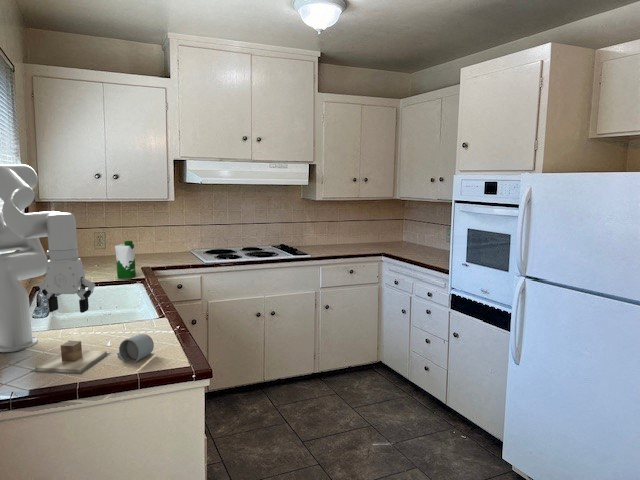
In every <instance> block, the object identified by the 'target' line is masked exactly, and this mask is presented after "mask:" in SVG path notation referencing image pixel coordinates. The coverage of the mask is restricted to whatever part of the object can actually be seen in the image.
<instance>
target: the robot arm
mask: <svg viewBox="0 0 640 480" xmlns="http://www.w3.org/2000/svg"><path fill="white" fill-rule="evenodd" d="M38 181H39V178H38V174H37V172H36V170H35V169H34V168H33V167H31V166H29V165H28V164H24V163H21V164H18V163H15V164H13V163H12V164H9V163H6V164H5V163H4V164H3V163H0V199H1V200H2V201H3V204H2V209H1V210H0V353H13V352H19V351H25V350H26V349H28V348H29V347H32V346H34V345H36V344H38V343H39V339H38V337H36V336H33V331H32V330H33V328H32V320H31V319H32V318H31V309H30V308H31V307H30V298H29V293H28V290H27V289H26V287H24V286H23V285H22V284H21V283H20V281H23V280H28V279H32V278H39V277H40V276H43V275H45V280H43V281H41V282H40V283H38V284H37V285H38V287H39V290H40V291H41V294H43V295H44V296H45V299H46V300H47V304H48V308H49V309H48V310H49V312H50V313H53V312H55V311H58V310H59V302H58V296H57V295H77V296H78V297H79V298H80V299H79V300H78V302H79V303H78V304H79V313H85V312H87V311H89V308H90V307H89V298H90V296H91V295H92V294H93V292H94V289H95V287H96V284H95V283H94V282H92V281H91V280H89V279H87V278H86V276H85V270H84V266H83V263H82V260H81V258H79V249H78V248H79V247H78V236H77V235H78V234H77V224H76V223H77V222H76V216H75V214H73V213H71V212H61V211H55V210H51V211H50V210H49V211H48V210H47V211H39V212H38V211H37V212H36V211H35V212H27V213H26V212H22V211H23V210H24V209H26V208H28V207H30V205H32V203H33V202H34V200H35V197H36V196H35V191H34V189H35V188H36V187H37V185H38ZM45 237H46V238H47V242H48V243H47V245H48V250H47V251H46V252H45V249H44V247H43V245H42V243H41V240H40V238H45ZM4 252H5V253H4ZM48 256H49V259H48ZM86 288H87V289H86Z"/></svg>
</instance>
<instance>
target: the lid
mask: <svg viewBox="0 0 640 480" xmlns="http://www.w3.org/2000/svg"><path fill="white" fill-rule="evenodd" d="M107 353H108V352H107V350H87V349H83V348H82V341H81V340H68V341H66V342H64V343H63V344H61V345H60V352H59V353H57V354H55V355H54V356H52V357H50V358H49V359H47V360H45V361H44V362H42V363H40V364H39V365H37V366H35V367H34V369H35V371H52V372H73V373H81V372H82V371H84V370H85V369H87V368H88V367H89V366H91V365H92V364H94V363H95V362H96V361H98V360H99V359H101V358H102V357H104V356H105V355H106V354H107Z"/></svg>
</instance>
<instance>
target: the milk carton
mask: <svg viewBox="0 0 640 480" xmlns="http://www.w3.org/2000/svg"><path fill="white" fill-rule="evenodd" d="M135 248H136V244H135V243H133V240H125V241H124V243H120V244H117V245H115V246H114V250H115V259H116V260H115V261H116V273H117V274H116V275H117V276H116V277H117V279H119V280H124V279H125V280H130V279H133V278H135V277H137V273H136V271H137V270H136V256H135V251H136V249H135Z"/></svg>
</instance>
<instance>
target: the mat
mask: <svg viewBox="0 0 640 480" xmlns="http://www.w3.org/2000/svg"><path fill="white" fill-rule="evenodd" d="M111 354H112V352H107V354H106V355H105V356H104V357H102V358H101V359H99V360H98V361H96V362H95V363H94V364H92V365H91V366H89V367H88V368H87V369H85V370H84V371H82V372H81V373H73V372H52V371H35V368H34V369H32V370H30V371H29V373H41V374H58V375H59V374H61V375H63V374H64V375H79V376H80V375H81V376H82V375H83V374H85V373H86V372H87V371H89V370H90V369H91V368H93V367H94V366H96V365H97V364H98V363H100V362H101V361H103V360H104V359H106V358H107V357H108V356H110V355H111Z"/></svg>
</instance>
